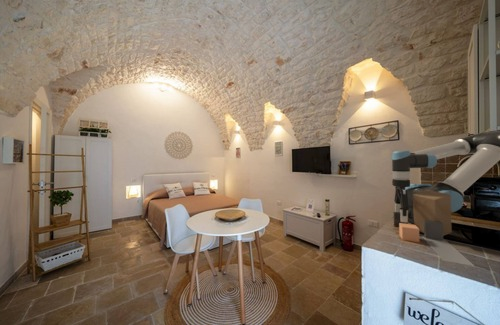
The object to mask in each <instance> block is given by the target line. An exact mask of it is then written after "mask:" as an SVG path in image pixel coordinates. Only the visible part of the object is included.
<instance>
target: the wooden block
mask: <svg viewBox="0 0 500 325" xmlns="http://www.w3.org/2000/svg"><path fill="white" fill-rule="evenodd" d="M413 210H414V224H413V225H416V226H417V227H418V228H419V233H422V234H424V220H428V221H438V222H442V223H443V237H444V236H447V235H449V234H452V213H451V195H450V194H446V193H441V192H436V191H431V190H424V191H421V192H418V193H415V194H413Z"/></svg>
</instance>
